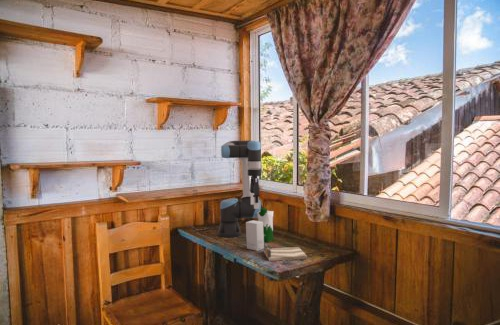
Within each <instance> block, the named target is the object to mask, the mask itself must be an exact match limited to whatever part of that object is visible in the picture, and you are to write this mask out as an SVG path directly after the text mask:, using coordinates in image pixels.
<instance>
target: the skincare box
mask: <svg viewBox="0 0 500 325" xmlns="http://www.w3.org/2000/svg"><path fill="white" fill-rule="evenodd" d="M245 233H246V234H245V235H246V236H245V237H246V239H245V240H246V249H247V250H252V251H257V252H258V251H261V250H264V243H265V242H264V231H263V222H261V221H258V220H249V221H246V222H245Z"/></svg>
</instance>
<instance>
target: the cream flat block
mask: <svg viewBox="0 0 500 325" xmlns="http://www.w3.org/2000/svg"><path fill="white" fill-rule="evenodd" d="M263 253H264V255H265V256H266V258H267V260H268V261H269V262H273V261H289V260H291V261H293V260H307V259H308V256H307V254H306V252H304V251H303V249H301V247H299V246H294V247H273V248H269V245H268V244H267V242H264V249H263Z"/></svg>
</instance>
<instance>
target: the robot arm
mask: <svg viewBox="0 0 500 325" xmlns="http://www.w3.org/2000/svg"><path fill="white" fill-rule="evenodd" d="M220 151H221V154H220V156H221V158H223V159H238V158H239V161H240V162H241V173H242V196H241V198H240V200H239V199H238V198H233V197H232V198H228V199H224V200H221V201H220V207H219V209H220V212H219V214H220V216H219V217H220V221H219V222H220V224H219V227H218V230H217V235H218V236H219V237H222V238H235V237H239V236H241V235H242V230H241V228H240V223H239V219H258V216H257V212H259V211H260V209H261V208H262V201H261V200H260V196H261V195H260V185H259V184H260V183H259V182H260V181H259V178H258V177H261V176H262V143H261V141H256V140H250V139H249V140H230V141H227V142H225V143H224V144H222V145H221V147H220Z"/></svg>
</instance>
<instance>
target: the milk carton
mask: <svg viewBox="0 0 500 325" xmlns="http://www.w3.org/2000/svg"><path fill="white" fill-rule="evenodd" d="M274 212H275V211H274V210H268V209H267V208H266V207H264V208H263V207H261V209H260V211H259V212H257V216H258V218H257V221H261V222H263V231H264V243H266V244H267V243H269V242H272V241H274V223H273V222H274Z"/></svg>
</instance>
